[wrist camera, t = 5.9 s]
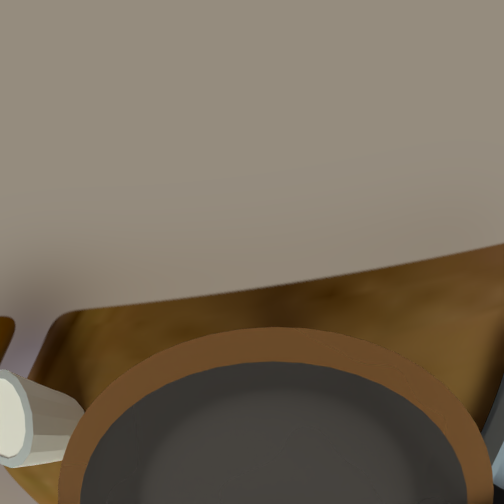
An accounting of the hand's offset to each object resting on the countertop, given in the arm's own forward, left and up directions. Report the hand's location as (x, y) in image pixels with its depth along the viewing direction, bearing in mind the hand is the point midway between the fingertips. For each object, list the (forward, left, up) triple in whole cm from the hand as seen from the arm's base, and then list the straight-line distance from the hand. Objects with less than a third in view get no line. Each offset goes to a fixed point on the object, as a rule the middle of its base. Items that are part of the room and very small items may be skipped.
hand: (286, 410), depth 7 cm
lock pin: (-1, -1, -7) cm, 7 cm away
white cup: (-13, +13, -13) cm, 22 cm away
